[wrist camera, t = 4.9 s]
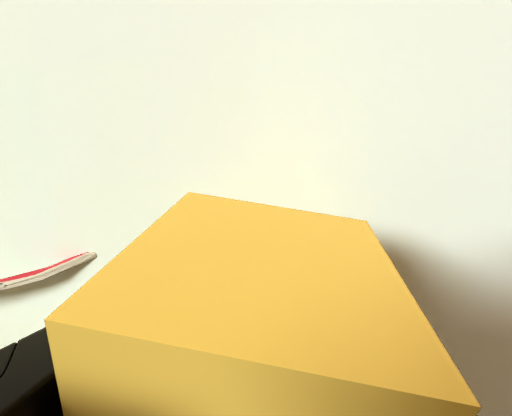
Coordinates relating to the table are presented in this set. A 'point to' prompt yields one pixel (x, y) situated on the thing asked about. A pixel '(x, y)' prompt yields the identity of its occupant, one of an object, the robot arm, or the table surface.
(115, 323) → the mustard cube
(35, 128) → the table surface
